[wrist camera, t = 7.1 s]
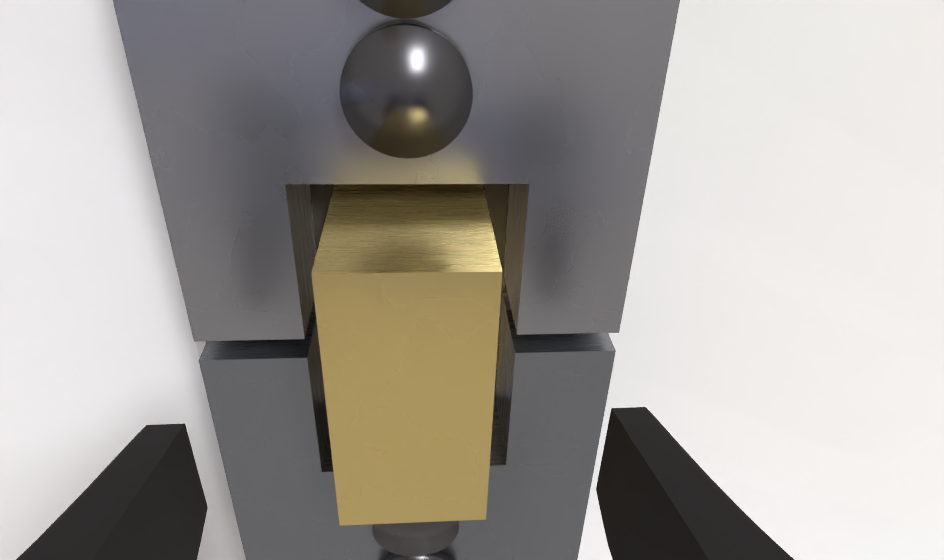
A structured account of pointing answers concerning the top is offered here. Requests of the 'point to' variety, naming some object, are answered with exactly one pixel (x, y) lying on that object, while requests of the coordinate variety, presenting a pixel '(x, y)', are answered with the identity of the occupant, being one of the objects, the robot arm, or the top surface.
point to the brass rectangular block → (408, 349)
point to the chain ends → (401, 162)
